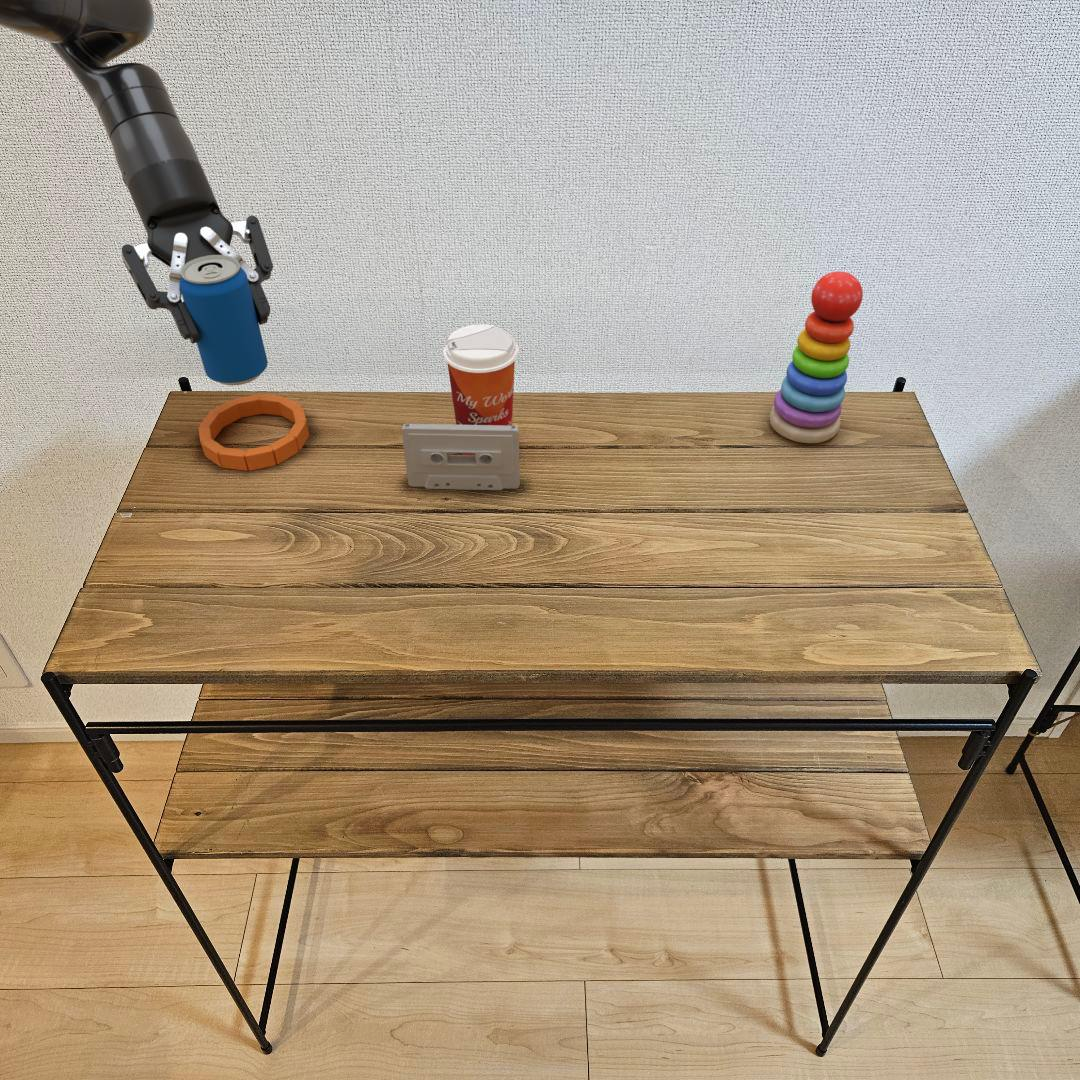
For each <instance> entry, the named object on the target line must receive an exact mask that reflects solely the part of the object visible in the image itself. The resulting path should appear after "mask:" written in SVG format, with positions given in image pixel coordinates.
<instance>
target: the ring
mask: <svg viewBox="0 0 1080 1080" xmlns="http://www.w3.org/2000/svg"><path fill="white" fill-rule="evenodd" d="M262 414H263V415H271V416H279V417H280V416H282V417H283V418H285V419H287V420H289V421H290V422H292V423H294V424H293V426H292V427H291V428H290V430H289V431H288V433H287V435H285V436H283V437H281V438H279V439H278V440H276V441H274V442H273V443H271V444H268V445H263V446H257V447H254V448H248V449H242V448H241V449H240V448H234V447H233V448H231V447H224V446H223V445H221V443H219V442H217V441H216V437H217V436H218V435H219V434H220V432H221V431H222V430H223V428H224V427H227V426H229V425H230V424H232V423H234V422H236V421H238V420H239V419H242V418H246V417H252V416H257V415H262ZM197 429H198V436H199V442H200V445H201V448H202V449H201V450H202V451H203V455H204V456H205V458H207V459H208V460H209V461H212V463H214V464H215V465H217V466H218V467H220V468H222V469H229V470H237V471H245V472H246V471H249V472H251V471H256V470H260V469H265V468H269V467H274V466H277V465H279V464H281V463H283V462H285V461H286V460H288V459H289V458H291V457H293V456H295V455H297V454H298V453H299V452H301V449H303V447H304V445H305V443H306V442H307V441H308V439H309V437H310V431H309V426H308V421H307V417H306V415H305V411H304V408H303V406H302V405H301V404H299V403H297V402H296V401H294V400H292V399H290V398H288V397H287V396H283V395H277V394H276V395H273V394H266V393H265V394H264V393H261V394H260V393H258V394H252V395H247V396H242V397H236V398H234V399H233V398H232V399H230V400H228V401H226V402H225V403H223V404H221V405H218V406H216V407H215V408H213V409H211V410H210V411H209V412H208V413H207V415H205V417H204V418H203V420H201V422H200V424H199V425H198V427H197Z"/></svg>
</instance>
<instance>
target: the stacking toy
mask: <svg viewBox="0 0 1080 1080" xmlns="http://www.w3.org/2000/svg"><path fill="white" fill-rule="evenodd" d="M863 296H864V291H863V287H862V284H861V282H860V281H859V280H858V278H857V277H856V276H854V275H853V274H851V273H849V272H846V271H841V270H840V271H831V272H828V273H826V274H825V275H823V276H822V277H820V278H819V279H818V281H816V283H815V284H814V286H813V288H812V291H811V296H810V297H811V299H810V301H811V306H812V309H813V312H811V313H809V315H808V316H807V317H806V319H805V323H804V329H803V330H802V331H801V332H800V333H798V337H797V341H796V342H797V346H795V348H794V350H793V351H792V361H791V362H790V363H788V365H787V368H786V374H785V377H784V378H783V380H782V382H781V386H780V389H779V390H778V391H777V392H776V394H775V396H774V399H773V406H772V407H771V409H770V411H769V422H770V426H772V429H773V430H774V431H776V432H777V433H778V434H779V435H780V436H782V437H783V438H786V439H788V440H790V441H793V442H797V443H803V444H819V443H823V442H826V441H828V440H831V439H832V438H833V437H834V436H836V434H837V433H838V432H839V430H840V427H841V424H842V423H841V422H842V421H841V420H842V419H841V416H840V415H841V413H842V408H843V406H842V403H843V401H844V399H845V397H846V396H845V395H846V389H845V386H846V384H847V382H848V374H847V369H848V368H849V364H850V357H849V354H848V353H849V351H850V349H851V340H850V337H851V336H852V335H853V332H854V330H855V324H854V320H853V319H852V316H853V315H855V314H856V313H857V312H858V310H859V308H860V307H861V304H862V301H863Z"/></svg>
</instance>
